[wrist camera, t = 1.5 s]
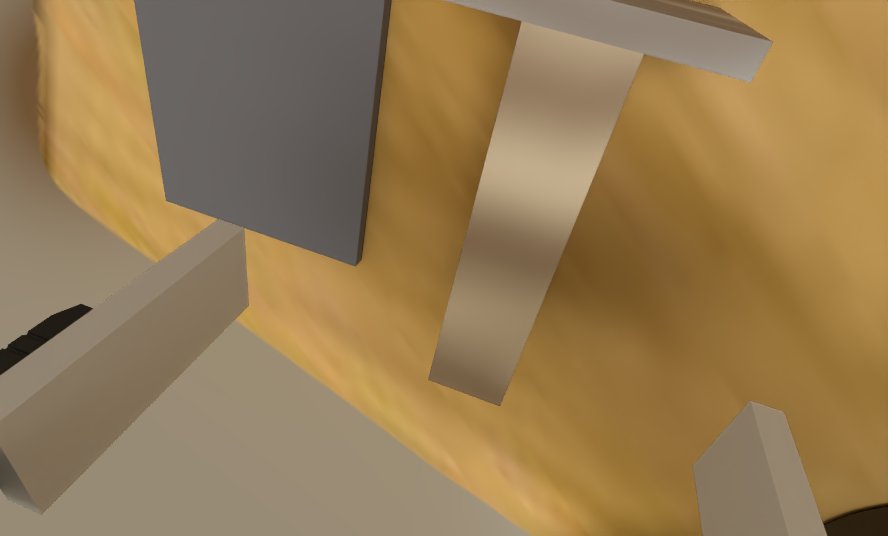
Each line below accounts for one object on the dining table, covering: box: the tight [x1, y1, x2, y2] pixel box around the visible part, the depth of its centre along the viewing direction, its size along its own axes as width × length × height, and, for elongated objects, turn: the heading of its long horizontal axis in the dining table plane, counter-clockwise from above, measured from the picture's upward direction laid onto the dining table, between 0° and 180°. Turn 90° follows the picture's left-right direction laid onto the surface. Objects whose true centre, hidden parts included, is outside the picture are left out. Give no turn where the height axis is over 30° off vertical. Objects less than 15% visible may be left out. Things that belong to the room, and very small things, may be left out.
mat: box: [134, 0, 391, 266], centre depth 25 cm, size 20×13×1 cm, turn 169°
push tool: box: [428, 0, 773, 406], centre depth 21 cm, size 16×9×8 cm, turn 169°
